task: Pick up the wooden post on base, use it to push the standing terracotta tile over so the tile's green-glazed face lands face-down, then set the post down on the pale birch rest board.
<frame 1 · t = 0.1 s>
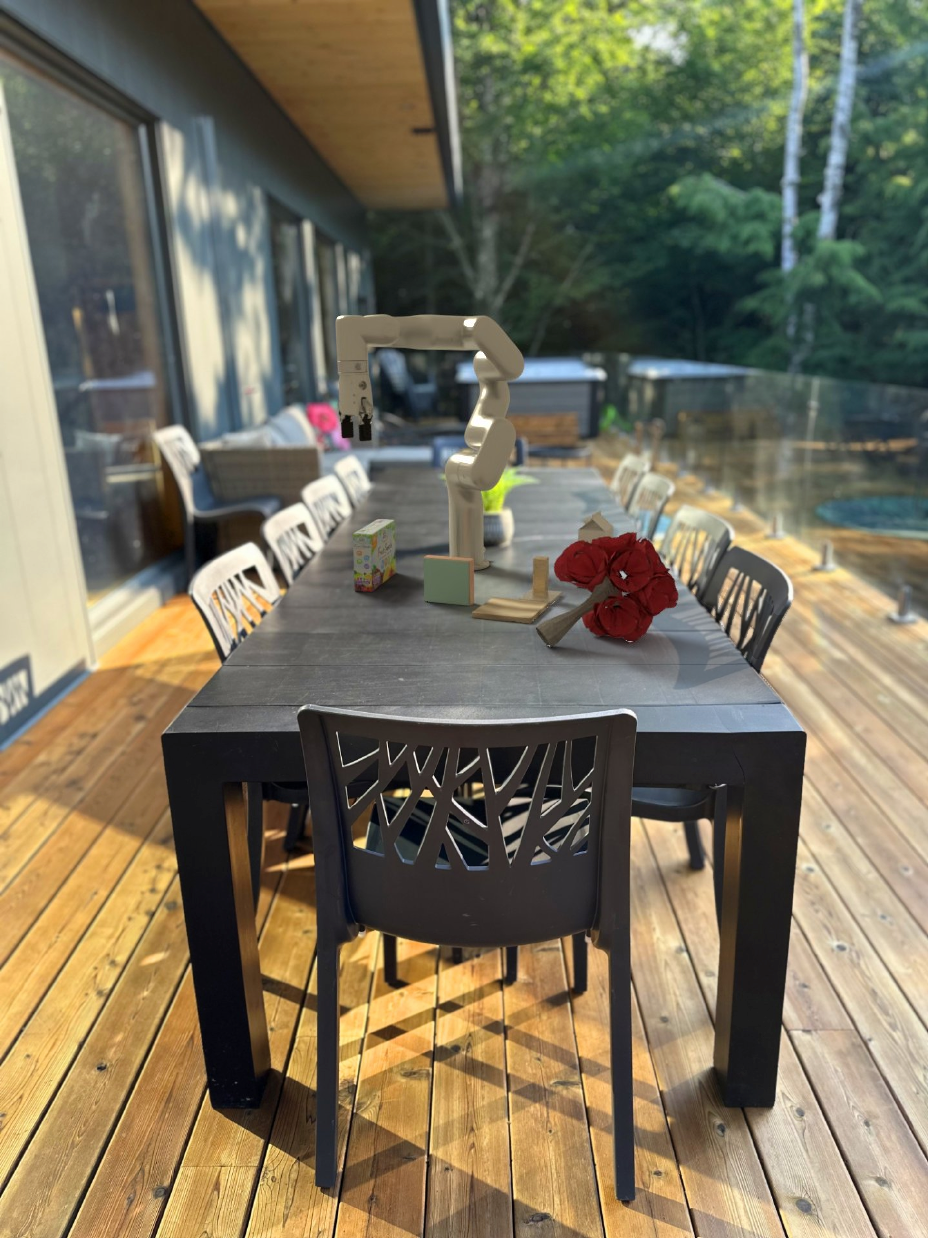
hand: (356, 439, 226), 37 cm above the table, tool pointing down, fingers open, 9 cm apart
milk carton: (594, 586, 232), on the table
bouquet: (603, 641, 189), on the table
wooden post on base: (540, 599, 220), on the table
tool rest: (511, 612, 210), on the table
tile: (448, 602, 219), on the table
snack box: (376, 582, 239), on the table
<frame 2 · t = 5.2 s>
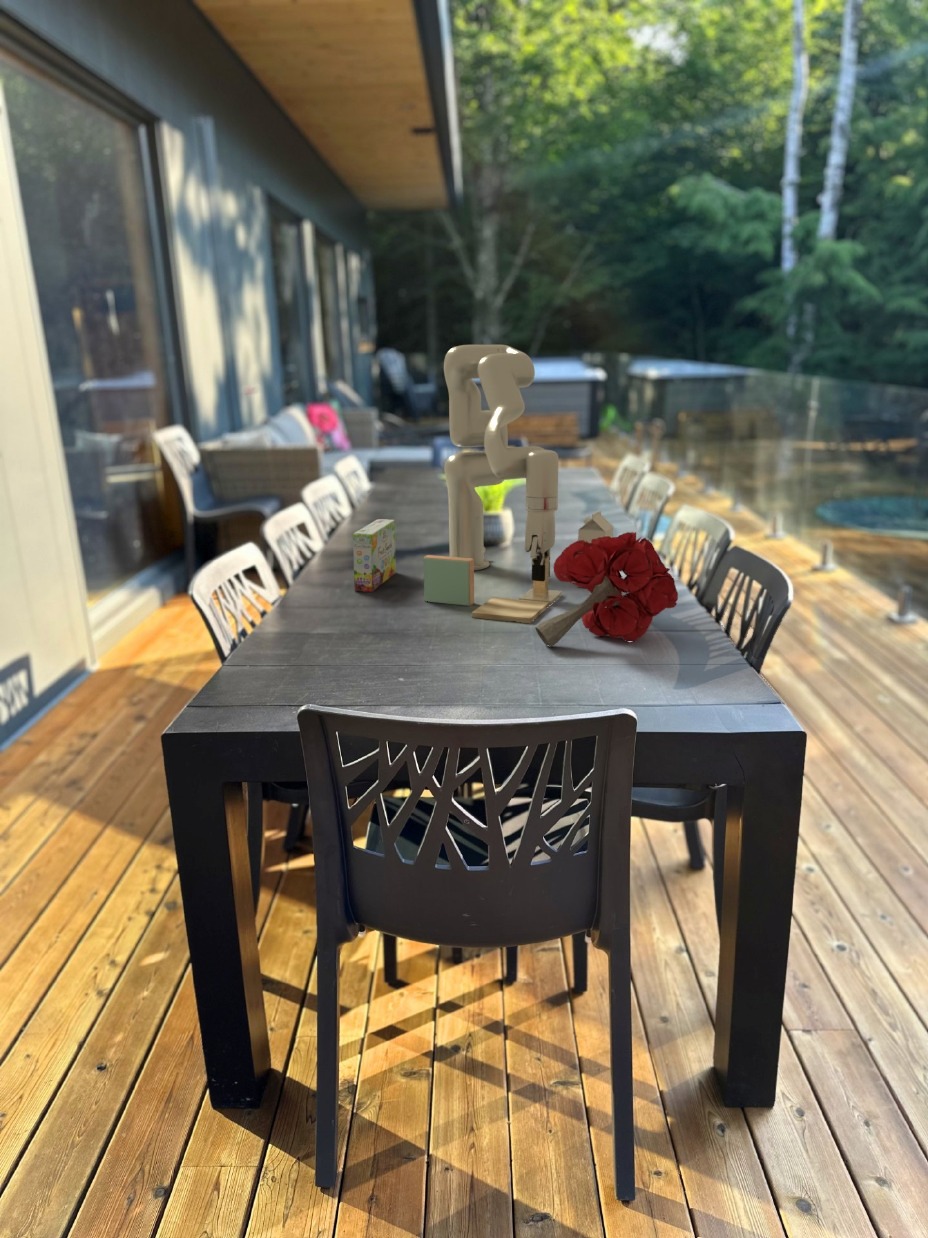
hand: (540, 578, 219), 5 cm above the table, tool pointing down, fingers closed on wooden post on base, 3 cm apart
wooden post on base: (540, 599, 220), on the table, touching gripper
everything else where it was.
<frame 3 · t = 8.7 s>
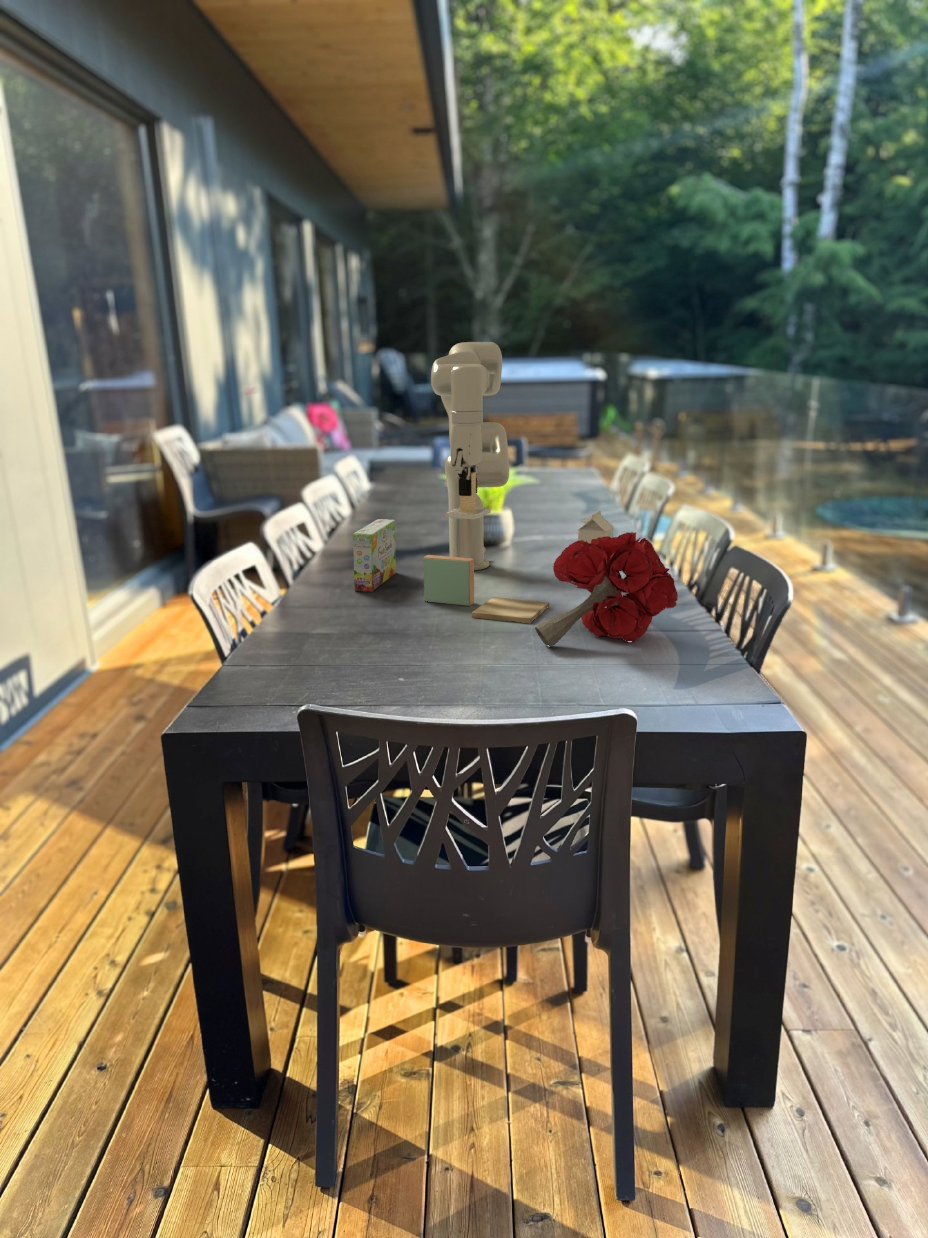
hand: (468, 493, 223), 24 cm above the table, tool pointing down, fingers closed on wooden post on base, 3 cm apart
wooden post on base: (468, 514, 225), point 19 cm above the table, touching gripper
everything else where it was.
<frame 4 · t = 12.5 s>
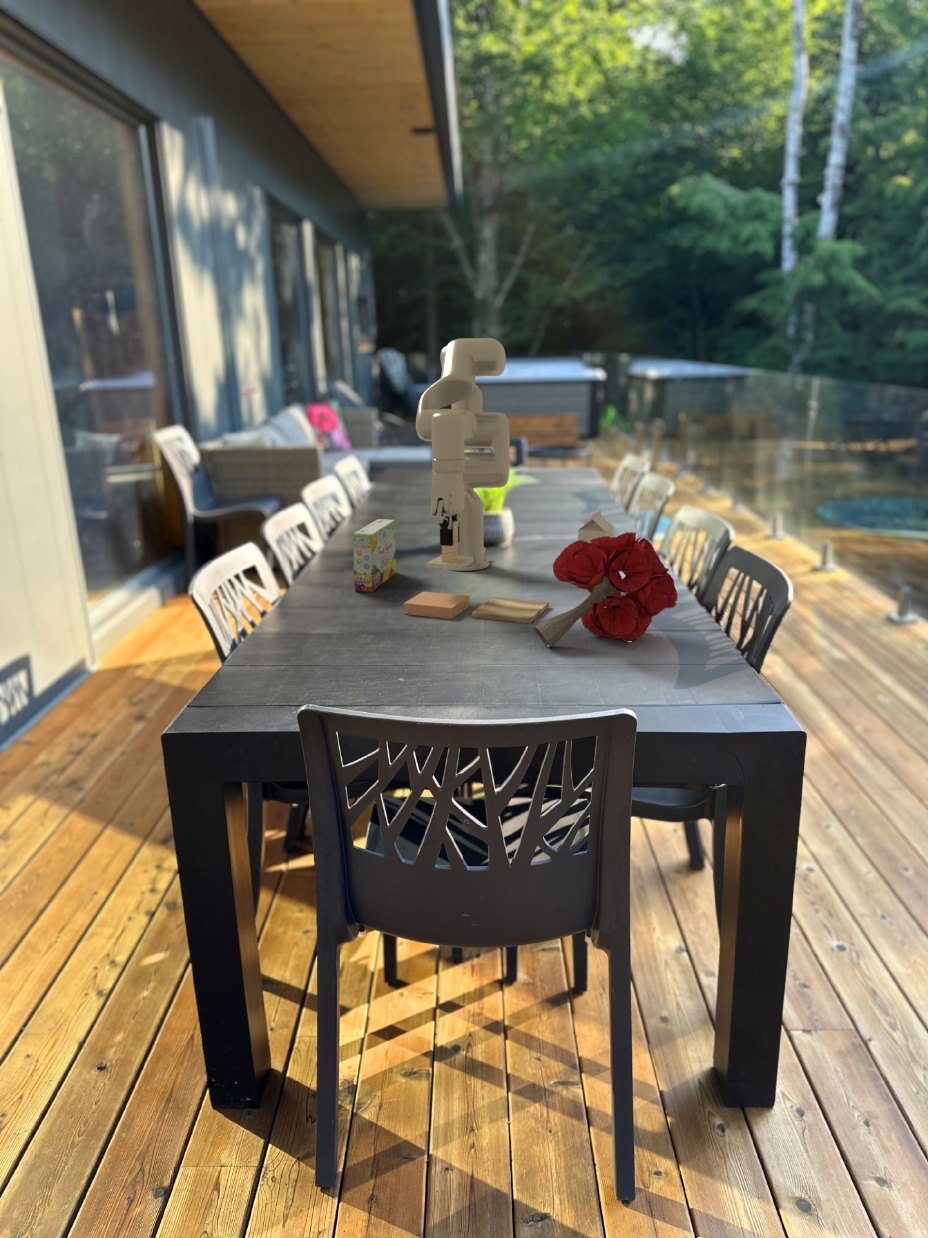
hand: (449, 543, 216), 14 cm above the table, tool pointing down, fingers closed on wooden post on base, 3 cm apart
wooden post on base: (450, 564, 217), point 9 cm above the table, touching gripper
tile: (446, 599, 217), point 1 cm above the table, tilted 90°
everything else where it was.
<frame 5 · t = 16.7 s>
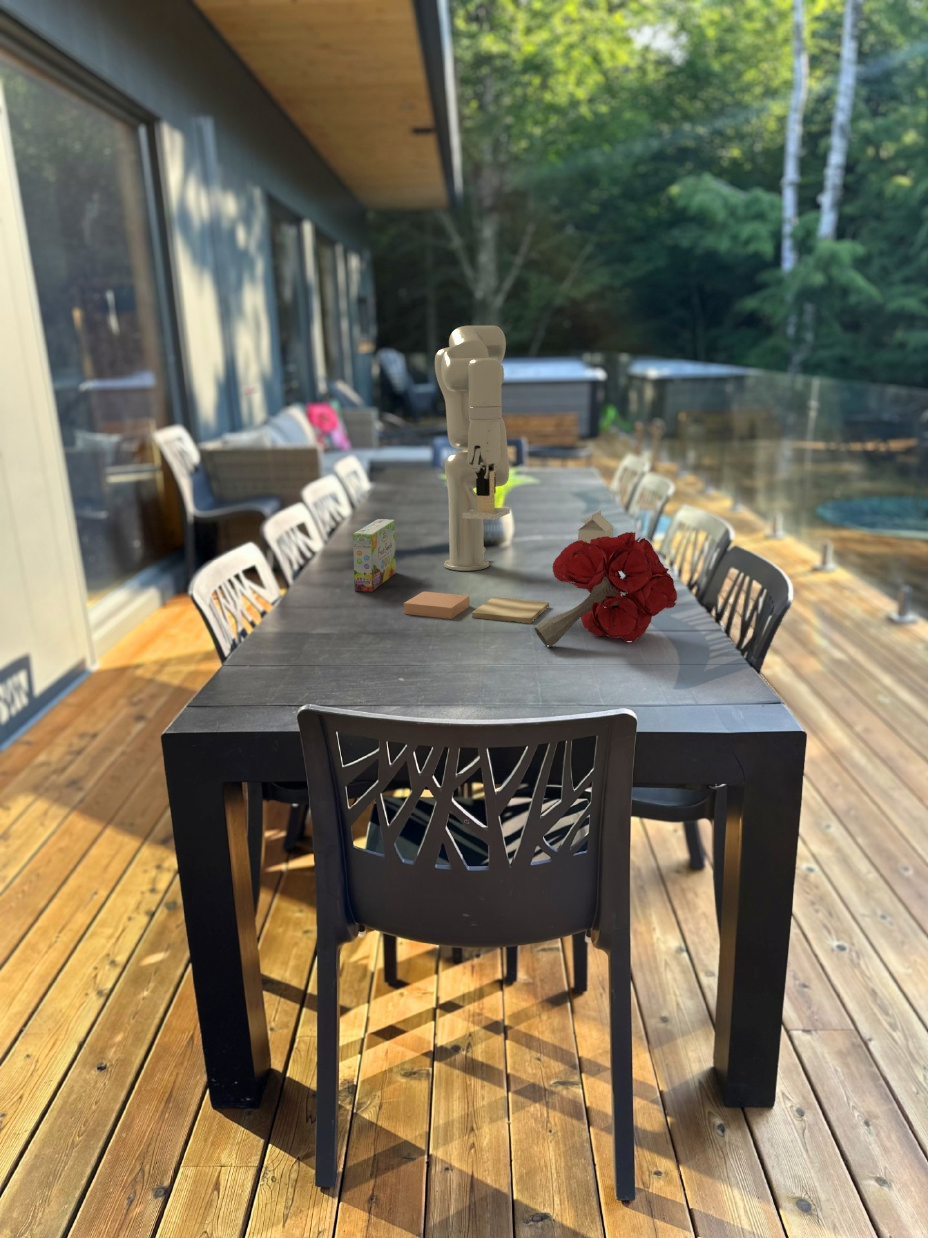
hand: (486, 493, 213), 26 cm above the table, tool pointing down, fingers closed on wooden post on base, 3 cm apart
wooden post on base: (486, 515, 214), point 21 cm above the table, touching gripper
everything else where it was.
when the fingers open (8 cm above the table, at t = 20.5 s): wooden post on base drops 2 cm, resting on tool rest.
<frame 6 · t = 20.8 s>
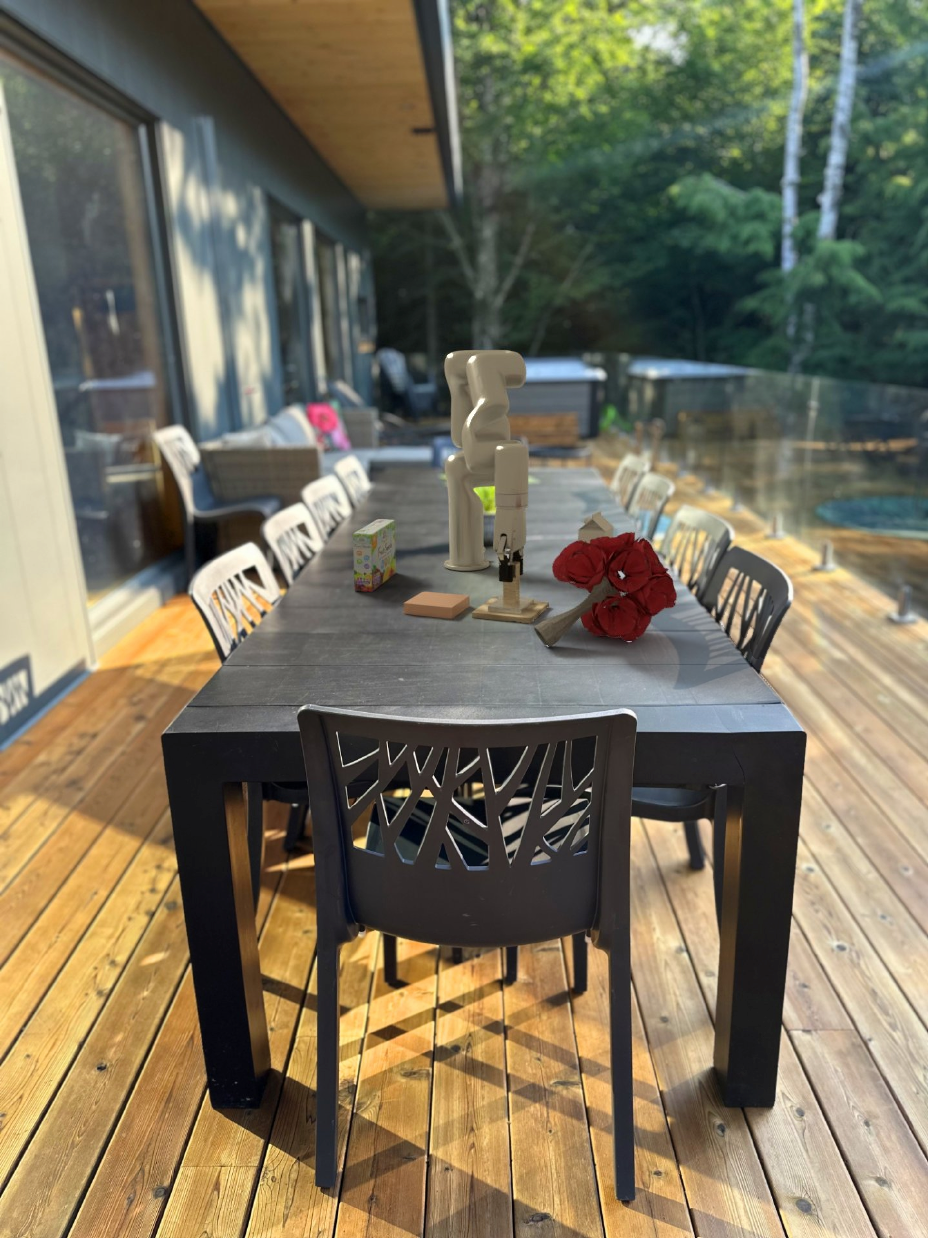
hand: (511, 577, 207), 8 cm above the table, tool pointing down, fingers open, 6 cm apart
wooden post on base: (511, 607, 210), point 1 cm above the table, touching tool rest
everything else where it was.
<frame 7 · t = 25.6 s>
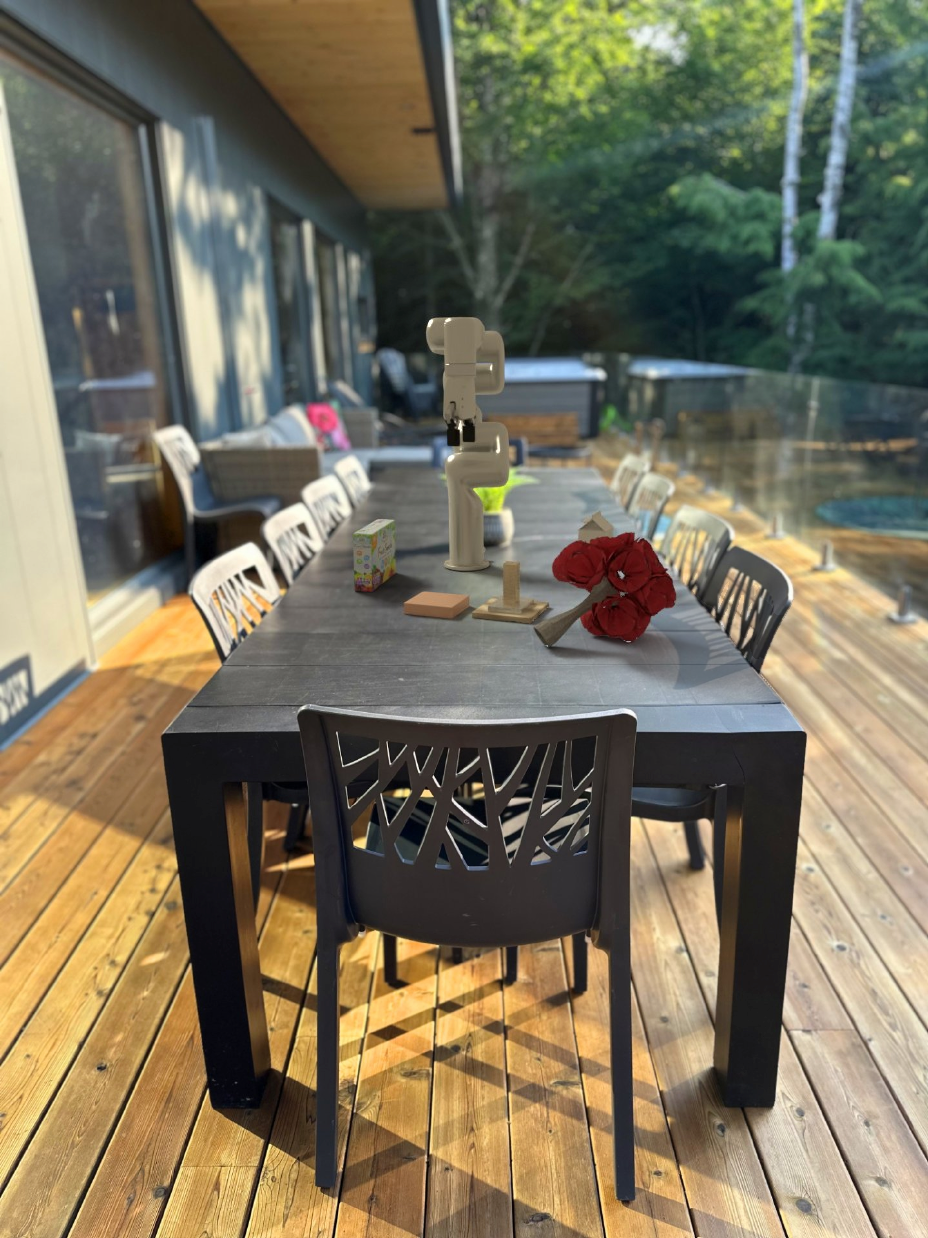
hand: (461, 444, 221), 36 cm above the table, tool pointing down, fingers open, 9 cm apart
nothing on the table moved.
at the end: tile tilted 90°; wooden post on base inside the target area on the tool rest (0.1 cm from its centre), point 1.2 cm above the tool rest's base; the gripper is holding nothing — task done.
